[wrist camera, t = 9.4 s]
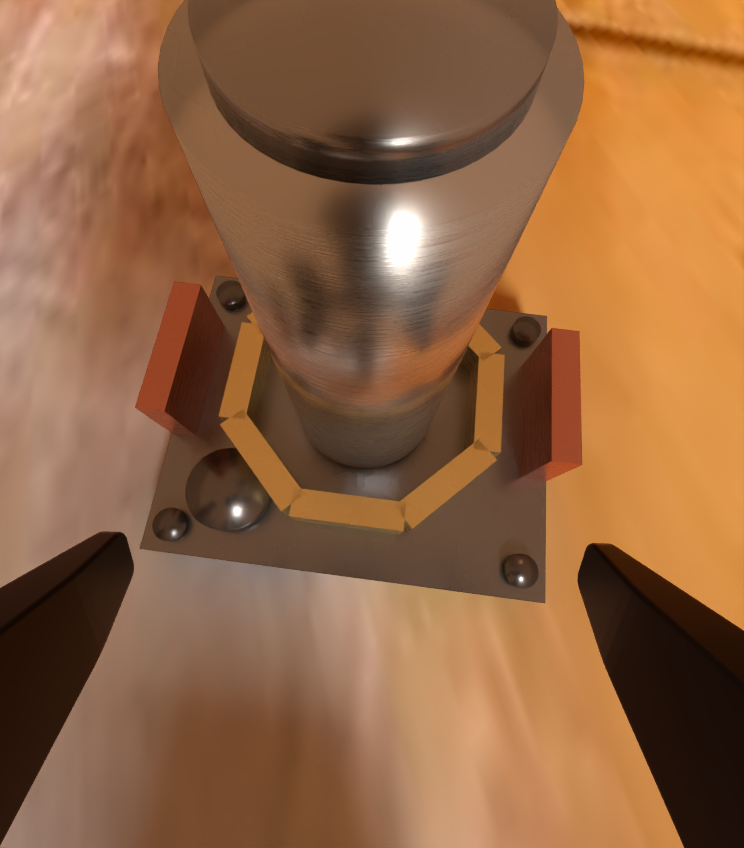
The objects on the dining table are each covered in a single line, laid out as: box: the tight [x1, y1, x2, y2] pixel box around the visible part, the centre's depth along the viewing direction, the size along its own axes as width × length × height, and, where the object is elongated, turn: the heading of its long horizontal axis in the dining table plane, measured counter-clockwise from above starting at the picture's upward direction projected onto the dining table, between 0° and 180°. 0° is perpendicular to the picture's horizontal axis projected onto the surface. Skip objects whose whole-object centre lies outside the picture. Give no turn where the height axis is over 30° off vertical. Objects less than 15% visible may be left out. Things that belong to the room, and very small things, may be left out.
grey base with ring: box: [135, 276, 582, 603], centre depth 18 cm, size 12×15×5 cm
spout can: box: [158, 0, 584, 468], centre depth 12 cm, size 8×6×14 cm, turn 178°
